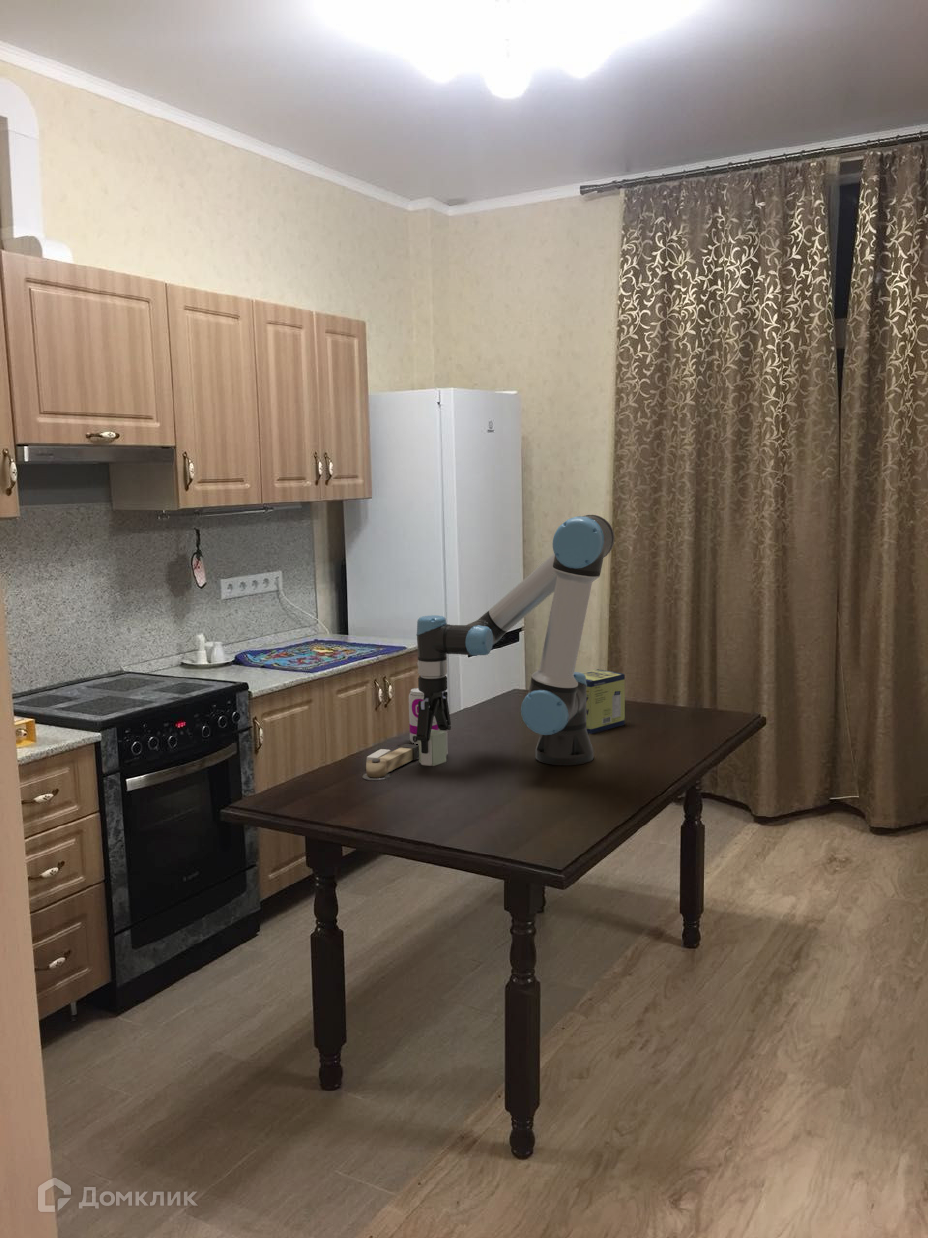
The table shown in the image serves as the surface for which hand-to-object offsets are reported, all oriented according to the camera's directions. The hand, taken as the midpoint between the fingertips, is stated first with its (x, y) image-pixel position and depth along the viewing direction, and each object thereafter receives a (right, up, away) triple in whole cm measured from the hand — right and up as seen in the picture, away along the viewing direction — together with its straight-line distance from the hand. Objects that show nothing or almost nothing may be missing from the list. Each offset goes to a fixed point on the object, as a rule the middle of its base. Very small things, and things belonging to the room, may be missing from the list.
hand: (434, 759), depth 273 cm
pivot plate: (-14, -3, -11) cm, 18 cm away
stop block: (-14, -1, -2) cm, 15 cm away
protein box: (+46, +5, +34) cm, 58 cm away
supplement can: (-3, +2, +21) cm, 21 cm away
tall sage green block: (0, -1, 0) cm, 1 cm away
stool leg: (-11, -1, -4) cm, 12 cm away
